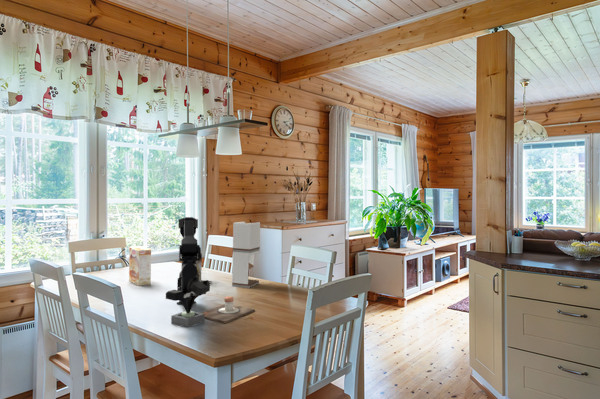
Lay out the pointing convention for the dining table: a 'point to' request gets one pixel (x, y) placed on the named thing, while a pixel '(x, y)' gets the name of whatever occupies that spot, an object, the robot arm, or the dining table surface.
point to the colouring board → (226, 313)
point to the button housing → (187, 319)
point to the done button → (188, 314)
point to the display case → (244, 252)
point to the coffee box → (199, 267)
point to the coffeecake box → (140, 265)
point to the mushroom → (229, 303)
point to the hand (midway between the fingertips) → (188, 312)
